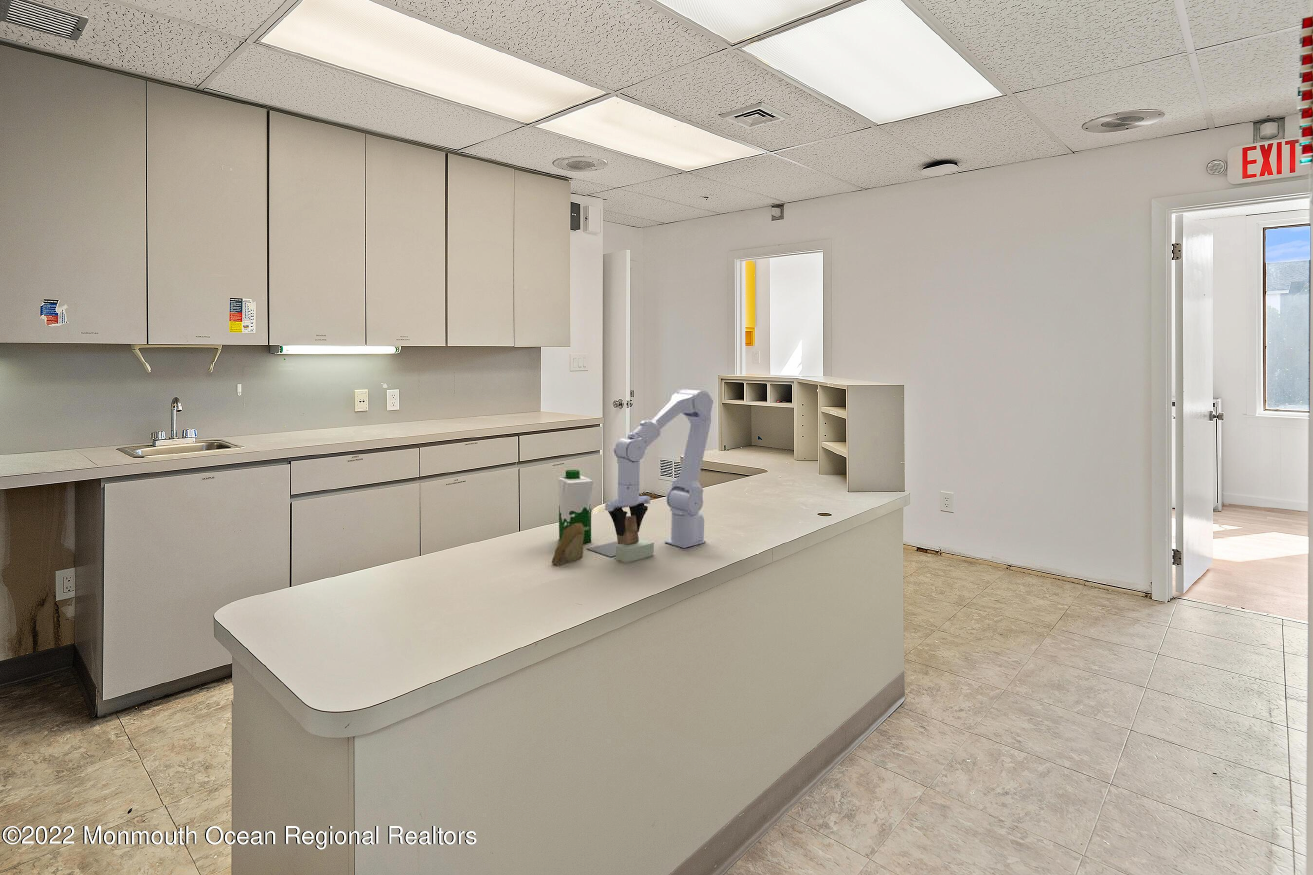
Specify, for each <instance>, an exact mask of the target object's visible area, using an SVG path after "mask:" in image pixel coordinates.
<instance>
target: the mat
mask: <svg viewBox="0 0 1313 875" xmlns="http://www.w3.org/2000/svg"><path fill="white" fill-rule="evenodd" d="M619 545H624V544H618V540H616V541H612V542H608V543H604V544H600V545H594V546H591V547H587V548H586V550H588V551H590V552H594V553H596V554H599V555H602V556H605V557H608V558H614V557H615V558H616V546H619Z"/></svg>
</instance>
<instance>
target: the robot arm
mask: <svg viewBox="0 0 1313 875" xmlns="http://www.w3.org/2000/svg"><path fill="white" fill-rule="evenodd" d="M670 397H671V399H670V401H669V402H668V403H667V404H665V405H664V407H663V408H662V409H661V410H660V411H659V412H657V414H656V415H655V416H654V417H653V418H652V419H651V420H650V419H645V420H641V421H640V422H639V426H638V427H636V428H635V429H634V430H633V431H632V432H629V433H628V435H627V436H626V437H624V438H623V437H622V438H620V439H618V441H617V442H616V444H615V447H614V448H613V453H614V456H615V457H616V463H617V497H615V499H614V500H611V501H607V502H605V503H604V505H605V506H604V510H605V511H607V512H608V514H609V516H610V517H611V519H612V523H613V526H614V530H615V534H616V536H617V535H619V536H623V535H624V524H625V519H626V516H628V511H626V510H624V508H629V513H630V516H636V523H637V530H638V533H640V529H641V525H642V522H643V520H644V517H645V515H646V513H647V512H648V510H649V507H648V505H650V504H651V496H648V495H641V496H640V469H641V468H640V464H641V461H640V460H642V459H643V458H644V456H645V452H646V450H647V449H648V447H650V446H651V444H653V443H654V442H655V441H656V440H657V439H658V438H659V437H660V436H661V430H662V429H663V428H664V427H665V426H666V425H668V424H669V423H670V422H671V421H673V419H675V418H677V417H678V416H679V415H681V414H682V415H683V416H685V418H686V419H687V420H688V422H689V423H690V426H689V432H688V435H687V440H686V446H685V449H684V450H685V451H684V453H683V454H684V455H683V459H682V463H681V467H680V472H679V476H678V478H676V479H675V480H673V481H672V483H671V486H670V489H669V490H668V492H667V495H666V497H665V498H666V504H667V506H668V507H669V510H670V512H671V523H670V524H671V525H670V527H671V529H670V530H671V531H670V539H666V540H664V543H665V544H666V543H667V544H669V545H673V546H676V547H679V548H682V549H685V548H689V547H692V546H696V545H700V544H704V543H707V540H706V539H705V537H704V536H705V517H704V515H703V514H702V512H700V511H701V510H702V508H703V504H704V499H703V494H704V489H703V486H701V484H700V483H699V482H700V481H699V478H700V474H701V471H702V470H701V469H702V465H703V460H704V457H705V450H706V446H707V442H708V437H709V432H710V429H711V428H710V427H711V423H712V408H713V404H714V400H713V399H712V396H711V395H710V393H709V392H708V391H706V390H704V389H702V390H701V389H700V390H699V389H698V390H697V389H696V390H695V389H687V388H680V389H678V390H677V391H676V392H675V393H674V394H672V395H671V396H670ZM645 504H646V505H645Z"/></svg>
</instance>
